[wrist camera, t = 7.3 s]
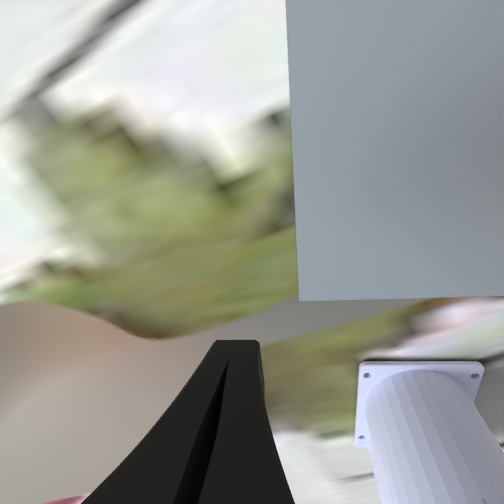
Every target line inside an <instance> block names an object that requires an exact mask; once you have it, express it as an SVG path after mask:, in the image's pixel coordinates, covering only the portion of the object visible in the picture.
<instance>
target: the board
mask: <svg viewBox="0 0 504 504" xmlns="http://www.w3.org/2000/svg"><path fill="white" fill-rule="evenodd" d="M286 20H287V42H288V64H289V86H290V108H291V130H292V152H293V174H294V196H295V218H296V241H297V263H298V285H299V301H321V300H322V301H324V300H359V299H360V300H362V299H400V298H438V297H477V296H504V0H286Z"/></svg>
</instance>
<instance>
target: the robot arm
mask: <svg viewBox="0 0 504 504" xmlns="http://www.w3.org/2000/svg"><path fill="white" fill-rule="evenodd" d="M484 370H485V368H484V367H483V365H482V364H481V363H480V362H477V361H366V362H362V363H361V364H360V366H359V377H358V392H357V407H356V422H355V436H354V442H355V446H356V447H358V448H366V449H368V450H369V454H370V459H371V463H372V468H373V472H374V476H375V481H376V485H377V490H378V494H379V499H380V503H381V504H504V453H503V451H502V449H501V448H500V446H499V444H498V443H497V441H496V439H495V438H494V436H493V434H492V433H491V431H490V429H489V428H488V426H487V424H486V423H485V421H484V419H483V417H482V416H481V414H480V412H479V411H478V409H477V407H476V406H475V404H474V402H475V399H476V396H477V392H478V389H479V386H480V383H481V380H482V377H483V373H484ZM365 373H367V374H365ZM81 504H295V503H294V500H293V497H292V494H291V491H290V488H289V485H288V483H287V480H286V477H285V474H284V471H283V468H282V465H281V461H280V458H279V455H278V452H277V449H276V445H275V442H274V438H273V435H272V431H271V427H270V424H269V420H268V416H267V412H266V408H265V400H264V376H263V368H262V360H261V352H260V344H259V342H258V341H256V340H216V341H215V342H214V343H213V345H212V346H211V348H210V349H209V351H208V352H207V354H206V356H205V357H204V359H203V360H202V362H201V363H200V365H199V366H198V368H197V369H196V370H195V372H194V373H193V375H192V376H191V378H190V379H189V380H188V382H187V383H186V385H185V386H184V387H183V389H182V390H181V392H180V393H179V395H178V396H177V397H176V398H175V400H174V401H173V402H172V404H171V405H170V406H169V408H168V409H167V410H166V411H165V413H164V414H163V415H162V416H161V417H160V419H159V420H158V421H157V422H156V424H155V425H154V426H153V427H152V429H151V430H150V431H149V433H148V434H146V436H145V437H144V438H143V439H142V440H141V441H140V443H139V444H138V445H137V446H136V447H135V448H134V449H133V451H132V452H131V453H130V454H129V455H128V456H127V457H126V458H125V459H124V460H123V462H121V464H120V465H119V466H118V467H117V468H116V469H115V470H114V471H113V472H112V473H111V474H110V475H109V476H108V477H107V478H106V479H105V480H104V481H103V482H102V483H101V484H100V485H99V486H98V487H97V488H96V489H95V490H94V491H93V492H92V493H91V494H90V495H89V496H88V497H87V498H86V499H85V500H84V501H83V502H82V503H81Z"/></svg>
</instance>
